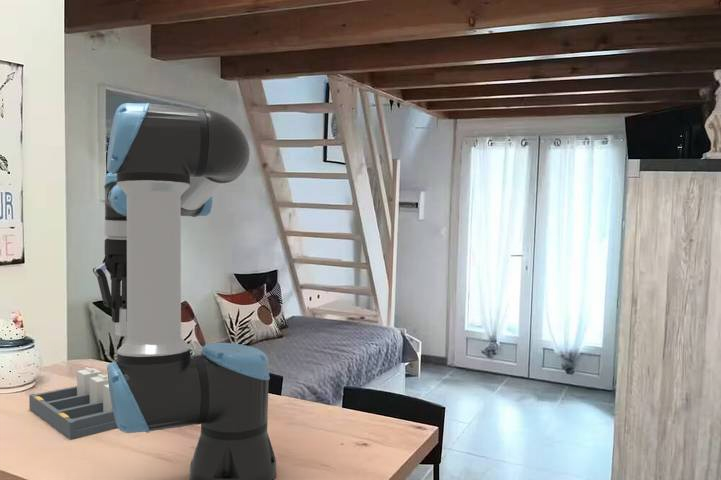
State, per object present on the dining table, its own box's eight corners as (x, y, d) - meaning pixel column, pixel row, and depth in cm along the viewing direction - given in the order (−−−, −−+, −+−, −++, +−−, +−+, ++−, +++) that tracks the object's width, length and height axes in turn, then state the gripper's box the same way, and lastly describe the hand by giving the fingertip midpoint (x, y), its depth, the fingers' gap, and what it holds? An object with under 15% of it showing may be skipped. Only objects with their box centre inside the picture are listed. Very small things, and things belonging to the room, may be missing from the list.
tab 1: (129, 412, 134) (129, 383, 134) (111, 417, 131) (111, 386, 131) (120, 407, 137) (121, 378, 136) (103, 412, 134) (103, 382, 134)
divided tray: (141, 421, 134) (141, 405, 133) (70, 439, 123) (70, 421, 123) (95, 395, 149) (95, 380, 149) (29, 409, 139) (29, 393, 138)
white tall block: (114, 404, 139) (115, 375, 139) (97, 408, 136) (97, 379, 136) (107, 400, 142) (107, 372, 141) (89, 403, 139) (89, 375, 138)
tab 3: (101, 396, 144) (101, 369, 143) (84, 400, 141) (84, 372, 140) (94, 392, 147) (94, 365, 146) (77, 396, 144) (77, 368, 143)
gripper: (139, 236, 154) (138, 328, 156) (87, 237, 144) (86, 336, 146) (154, 238, 149) (153, 334, 151) (101, 239, 139) (100, 342, 141)
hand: (120, 335), depth 148 cm, fingers closed
